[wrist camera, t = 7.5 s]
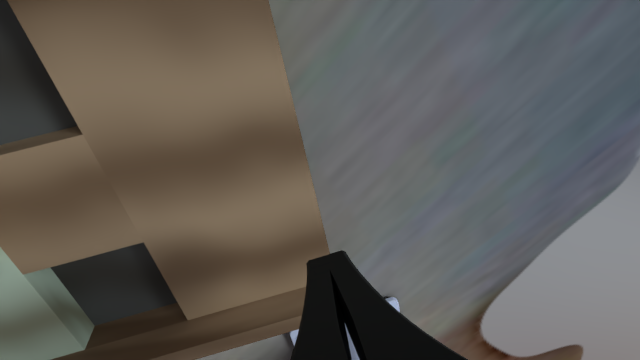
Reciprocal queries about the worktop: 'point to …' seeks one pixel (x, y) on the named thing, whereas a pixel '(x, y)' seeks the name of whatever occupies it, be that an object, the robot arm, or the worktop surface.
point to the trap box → (148, 180)
